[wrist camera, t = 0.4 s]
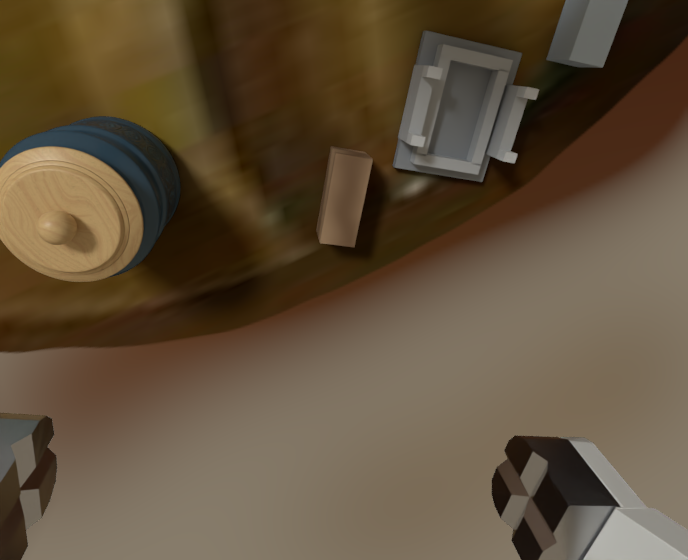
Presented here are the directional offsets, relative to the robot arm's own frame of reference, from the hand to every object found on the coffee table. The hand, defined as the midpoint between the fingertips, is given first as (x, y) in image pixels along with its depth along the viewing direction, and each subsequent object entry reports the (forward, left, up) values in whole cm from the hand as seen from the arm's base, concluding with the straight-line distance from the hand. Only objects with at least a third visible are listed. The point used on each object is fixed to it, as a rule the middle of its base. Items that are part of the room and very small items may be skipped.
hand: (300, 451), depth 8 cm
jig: (-5, +19, -46) cm, 50 cm away
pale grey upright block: (-16, +30, -46) cm, 57 cm away
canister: (+8, -16, -46) cm, 49 cm away
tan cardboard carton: (+6, +8, -46) cm, 47 cm away
